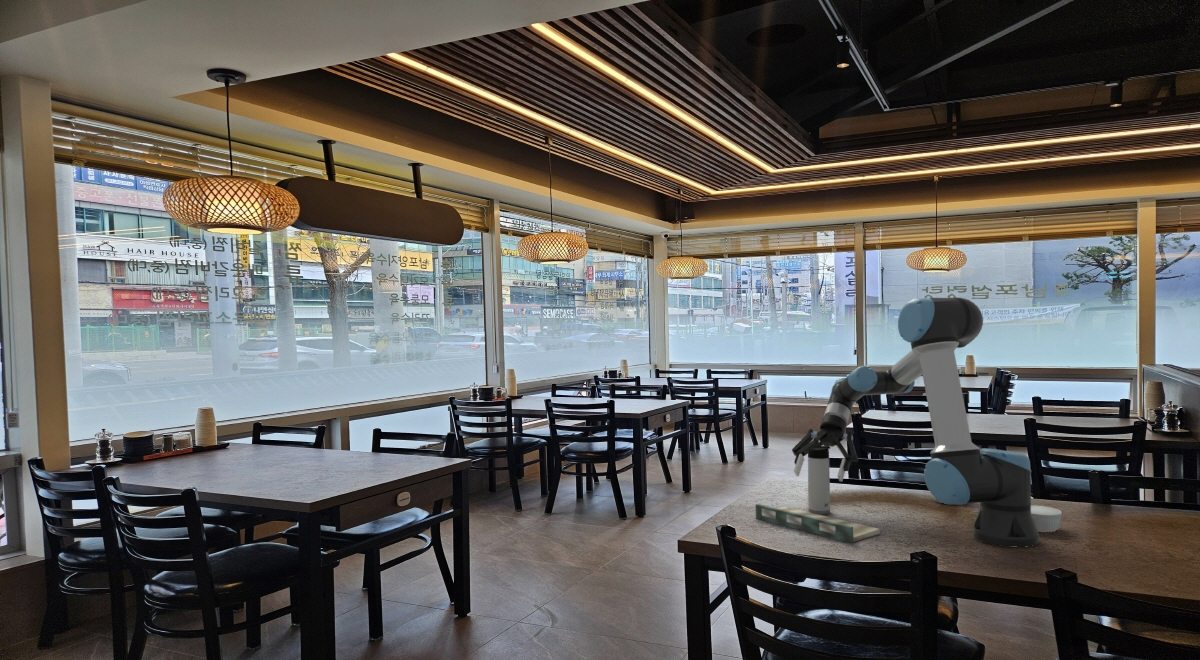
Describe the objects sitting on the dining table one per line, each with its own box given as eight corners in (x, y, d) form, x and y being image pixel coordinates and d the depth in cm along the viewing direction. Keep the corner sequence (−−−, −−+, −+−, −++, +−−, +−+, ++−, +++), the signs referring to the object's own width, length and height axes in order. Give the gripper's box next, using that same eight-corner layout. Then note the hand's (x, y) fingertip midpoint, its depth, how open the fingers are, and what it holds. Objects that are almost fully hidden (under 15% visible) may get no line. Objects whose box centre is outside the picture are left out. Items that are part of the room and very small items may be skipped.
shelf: (879, 533, 199) (879, 518, 199) (850, 542, 191) (850, 527, 191) (784, 510, 224) (784, 497, 224) (755, 518, 216) (755, 504, 216)
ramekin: (1015, 521, 208) (1015, 502, 208) (1061, 526, 203) (1061, 507, 203) (1014, 531, 199) (1014, 511, 199) (1063, 536, 193) (1062, 516, 193)
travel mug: (832, 515, 218) (831, 447, 218) (809, 514, 219) (808, 447, 219) (829, 509, 224) (828, 444, 224) (807, 509, 225) (806, 444, 225)
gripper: (877, 431, 228) (862, 488, 216) (801, 425, 243) (782, 478, 232) (872, 415, 224) (855, 473, 212) (794, 410, 239) (775, 464, 227)
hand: (817, 476), depth 222 cm, fingers open, 13 cm apart
